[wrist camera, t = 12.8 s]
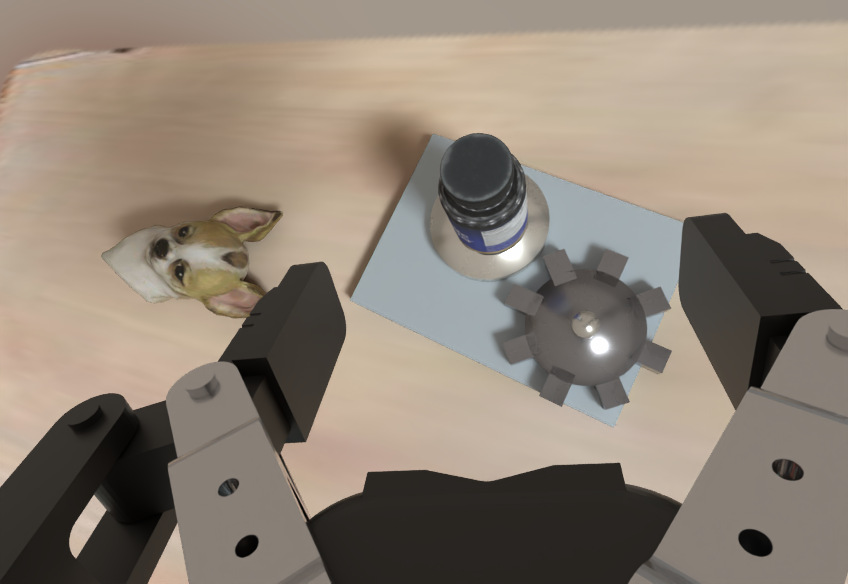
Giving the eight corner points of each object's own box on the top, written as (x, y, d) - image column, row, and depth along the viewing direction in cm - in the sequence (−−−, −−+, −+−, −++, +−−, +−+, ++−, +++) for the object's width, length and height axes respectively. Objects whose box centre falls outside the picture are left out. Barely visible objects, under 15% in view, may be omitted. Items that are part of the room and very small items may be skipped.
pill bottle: (443, 209, 45) (412, 150, 34) (507, 174, 44) (496, 104, 33) (475, 270, 43) (453, 229, 32) (542, 235, 42) (542, 181, 32)
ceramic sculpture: (93, 191, 46) (253, 181, 43) (158, 223, 54) (295, 215, 52) (78, 312, 44) (245, 307, 41) (147, 325, 52) (290, 322, 50)
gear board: (695, 234, 42) (701, 228, 41) (611, 426, 41) (613, 427, 39) (436, 141, 49) (433, 133, 48) (355, 303, 48) (349, 300, 46)
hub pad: (568, 194, 44) (569, 188, 43) (518, 300, 43) (518, 298, 42) (462, 155, 47) (460, 149, 45) (413, 254, 46) (410, 251, 45)
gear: (694, 289, 40) (705, 281, 38) (629, 439, 39) (635, 442, 37) (541, 229, 44) (541, 218, 41) (477, 366, 43) (473, 363, 40)
